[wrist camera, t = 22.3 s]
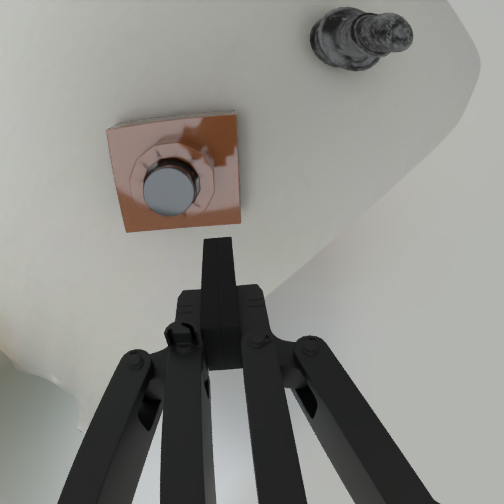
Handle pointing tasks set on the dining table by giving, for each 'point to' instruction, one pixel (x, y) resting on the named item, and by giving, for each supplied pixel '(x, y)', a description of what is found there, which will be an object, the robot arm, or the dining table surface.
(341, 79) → the dining table surface
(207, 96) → the dining table surface
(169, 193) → the button
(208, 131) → the brown square base plate
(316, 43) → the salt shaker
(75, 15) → the dining table surface
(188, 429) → the robot arm
